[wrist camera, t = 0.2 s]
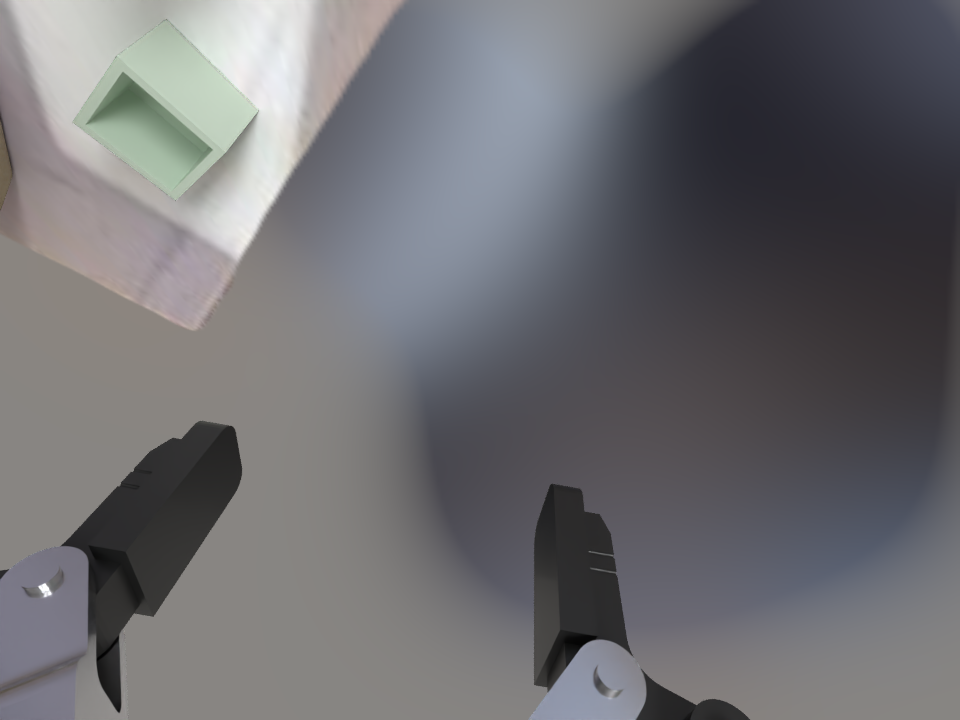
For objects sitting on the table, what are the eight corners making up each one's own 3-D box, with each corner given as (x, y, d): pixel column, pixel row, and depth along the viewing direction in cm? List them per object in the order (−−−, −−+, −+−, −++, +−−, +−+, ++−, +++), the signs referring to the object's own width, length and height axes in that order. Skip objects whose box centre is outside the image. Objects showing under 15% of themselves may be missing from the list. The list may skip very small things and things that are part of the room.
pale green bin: (121, 82, 36) (72, 122, 33) (166, 19, 33) (116, 56, 29) (210, 158, 41) (175, 200, 37) (258, 110, 37) (225, 152, 33)
